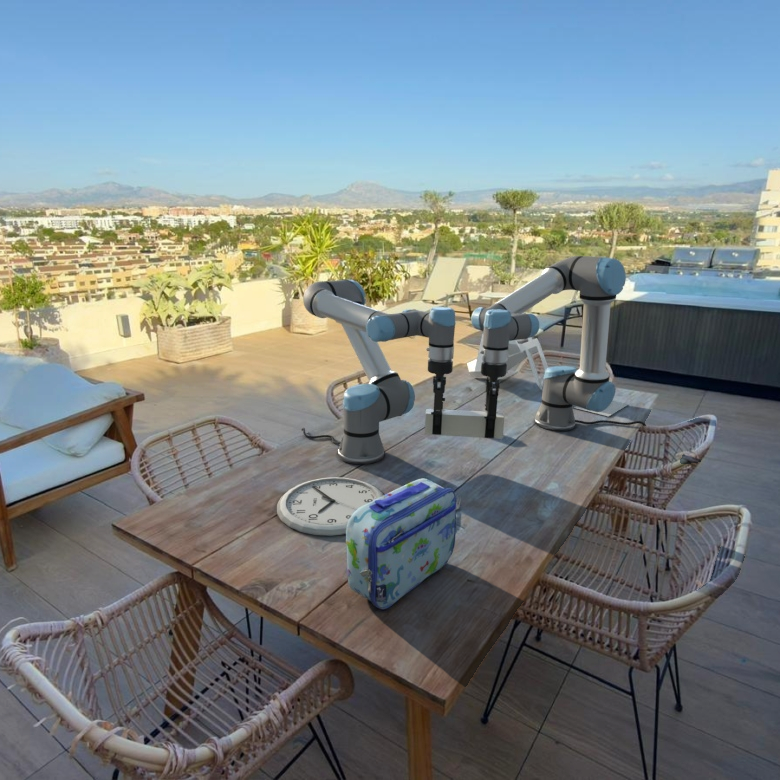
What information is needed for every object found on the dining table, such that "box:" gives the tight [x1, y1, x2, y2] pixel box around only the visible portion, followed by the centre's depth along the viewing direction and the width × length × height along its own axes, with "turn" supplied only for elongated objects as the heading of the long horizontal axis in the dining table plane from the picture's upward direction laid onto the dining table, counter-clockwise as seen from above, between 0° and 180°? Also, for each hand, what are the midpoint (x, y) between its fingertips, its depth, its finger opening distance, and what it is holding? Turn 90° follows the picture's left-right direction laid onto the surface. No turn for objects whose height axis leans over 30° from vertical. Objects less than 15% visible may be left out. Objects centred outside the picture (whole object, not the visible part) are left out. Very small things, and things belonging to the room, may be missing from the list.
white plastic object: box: [466, 312, 549, 391], centre depth 258 cm, size 37×45×31 cm
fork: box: [456, 495, 462, 511], centre depth 138 cm, size 3×16×2 cm, turn 160°
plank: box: [424, 408, 505, 440], centre depth 163 cm, size 24×4×7 cm, turn 83°
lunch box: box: [345, 477, 457, 610], centre depth 110 cm, size 26×11×21 cm, turn 134°
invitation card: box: [573, 400, 628, 418], centre depth 226 cm, size 21×1×15 cm
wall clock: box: [276, 476, 385, 537], centre depth 143 cm, size 30×2×30 cm
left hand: (437, 427), depth 164 cm, fingers open, 11 cm apart
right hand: (488, 434), depth 163 cm, fingers closed on plank, 4 cm apart
